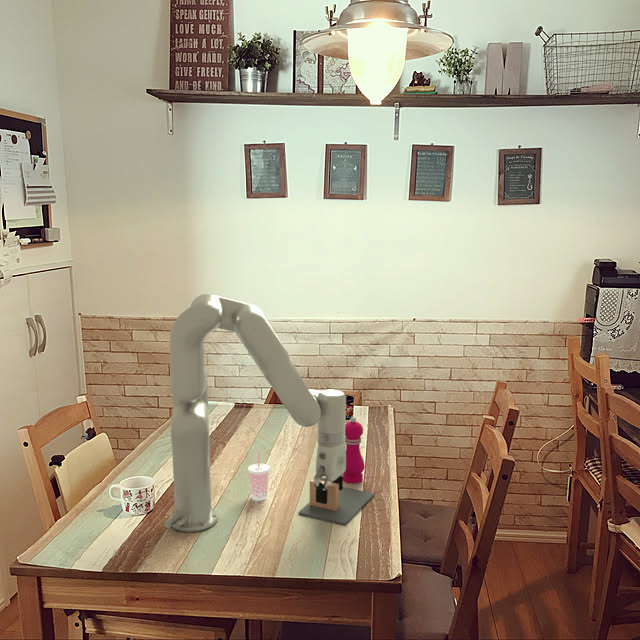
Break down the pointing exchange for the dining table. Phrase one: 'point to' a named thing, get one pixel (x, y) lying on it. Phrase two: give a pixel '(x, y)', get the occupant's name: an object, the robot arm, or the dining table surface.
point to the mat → (340, 506)
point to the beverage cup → (258, 480)
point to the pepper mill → (353, 452)
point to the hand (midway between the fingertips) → (329, 495)
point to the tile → (331, 496)
